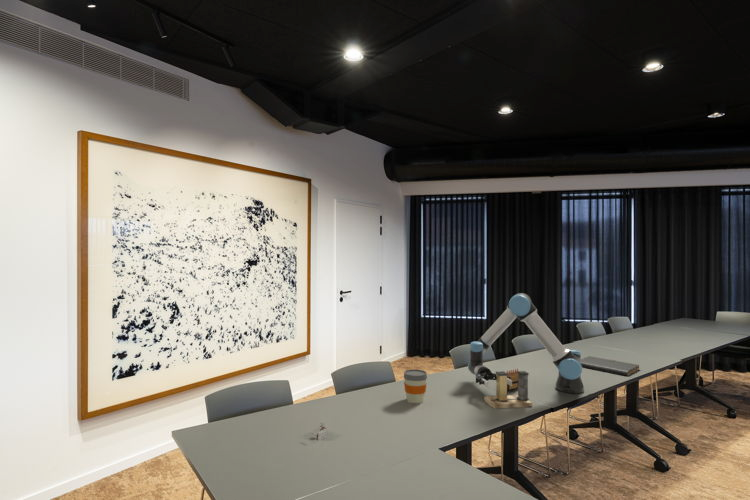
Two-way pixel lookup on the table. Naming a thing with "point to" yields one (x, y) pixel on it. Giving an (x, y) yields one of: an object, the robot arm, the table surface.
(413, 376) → the reusable coffee cup
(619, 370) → the grey hardcover book
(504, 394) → the brass leg
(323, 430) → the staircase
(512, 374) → the ammunition clip
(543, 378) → the table surface
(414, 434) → the table surface
